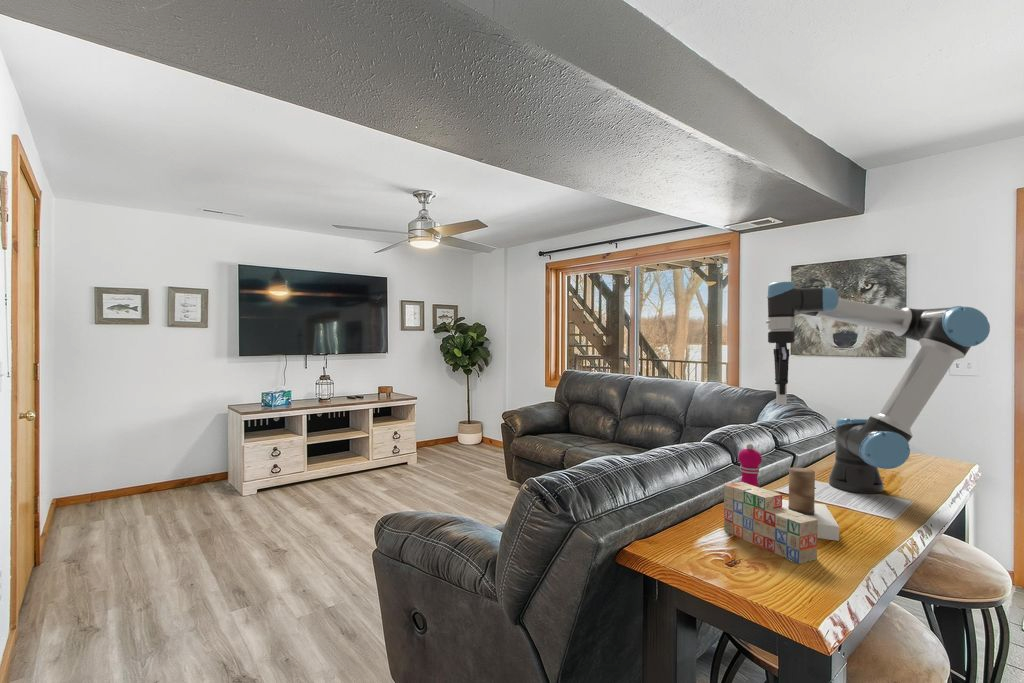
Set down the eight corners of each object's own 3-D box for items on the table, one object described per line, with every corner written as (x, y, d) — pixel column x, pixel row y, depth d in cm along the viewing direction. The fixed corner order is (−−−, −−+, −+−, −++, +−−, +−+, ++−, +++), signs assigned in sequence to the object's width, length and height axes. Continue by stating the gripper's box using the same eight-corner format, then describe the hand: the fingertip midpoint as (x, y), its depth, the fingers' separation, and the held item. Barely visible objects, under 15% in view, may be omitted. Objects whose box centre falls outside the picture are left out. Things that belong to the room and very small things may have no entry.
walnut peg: (812, 520, 137) (812, 468, 137) (816, 528, 132) (817, 474, 132) (786, 516, 140) (787, 466, 140) (789, 524, 134) (790, 471, 134)
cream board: (824, 516, 141) (825, 504, 141) (839, 540, 125) (839, 526, 125) (768, 510, 147) (769, 498, 147) (775, 532, 130) (775, 518, 130)
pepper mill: (766, 519, 139) (767, 447, 139) (738, 517, 140) (739, 445, 140) (759, 510, 146) (760, 441, 146) (732, 508, 148) (733, 440, 147)
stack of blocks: (818, 560, 114) (818, 505, 114) (799, 565, 112) (799, 509, 112) (740, 527, 134) (741, 480, 134) (723, 530, 131) (723, 483, 131)
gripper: (765, 331, 169) (765, 401, 169) (771, 330, 157) (771, 406, 157) (790, 330, 166) (790, 402, 167) (798, 330, 154) (798, 407, 154)
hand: (781, 404), depth 162 cm, fingers closed
